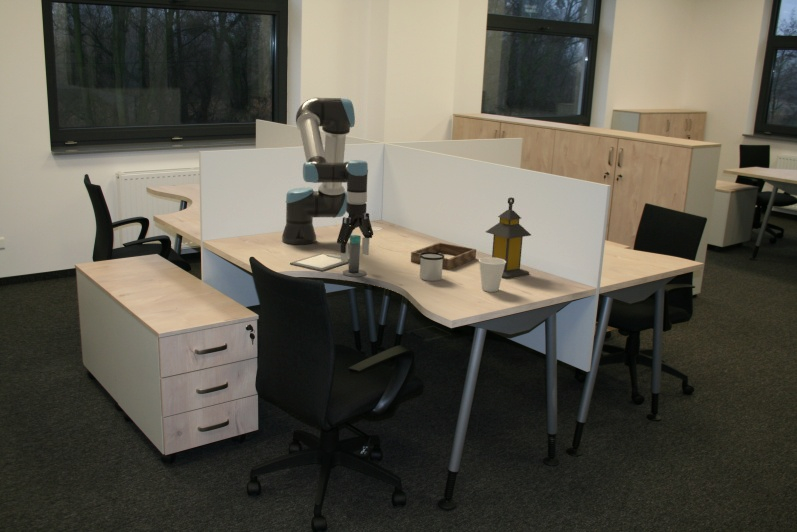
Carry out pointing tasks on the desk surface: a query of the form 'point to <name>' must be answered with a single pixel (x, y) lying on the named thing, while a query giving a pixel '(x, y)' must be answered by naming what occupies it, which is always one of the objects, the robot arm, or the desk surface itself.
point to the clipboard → (320, 262)
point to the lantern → (509, 242)
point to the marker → (354, 253)
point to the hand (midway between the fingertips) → (355, 257)
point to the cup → (491, 273)
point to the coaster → (361, 273)
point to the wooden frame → (460, 252)
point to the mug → (431, 266)
